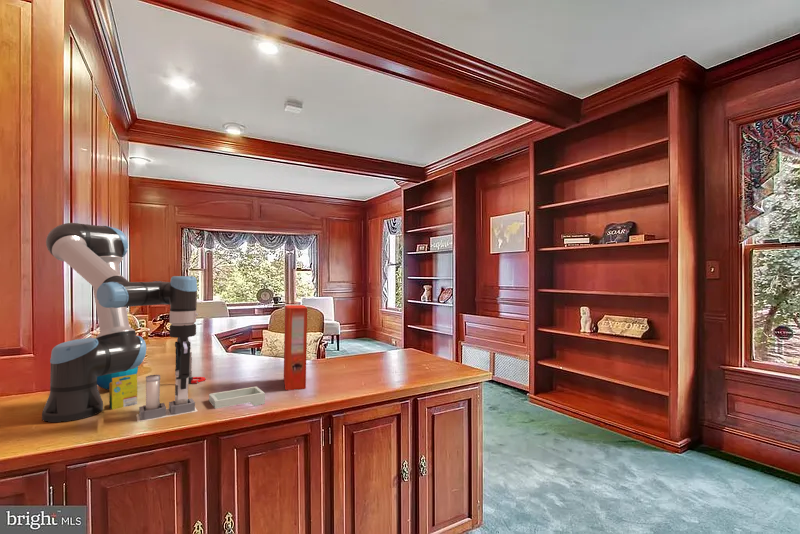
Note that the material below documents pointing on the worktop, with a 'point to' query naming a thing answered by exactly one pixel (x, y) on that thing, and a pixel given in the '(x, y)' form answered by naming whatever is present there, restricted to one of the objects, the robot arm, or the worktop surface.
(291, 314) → the file binder
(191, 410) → the block
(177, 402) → the cylinder
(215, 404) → the parts tray
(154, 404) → the cylinder
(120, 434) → the worktop surface
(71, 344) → the robot arm
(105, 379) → the decorative orb
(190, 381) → the tow hook
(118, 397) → the crayon box
